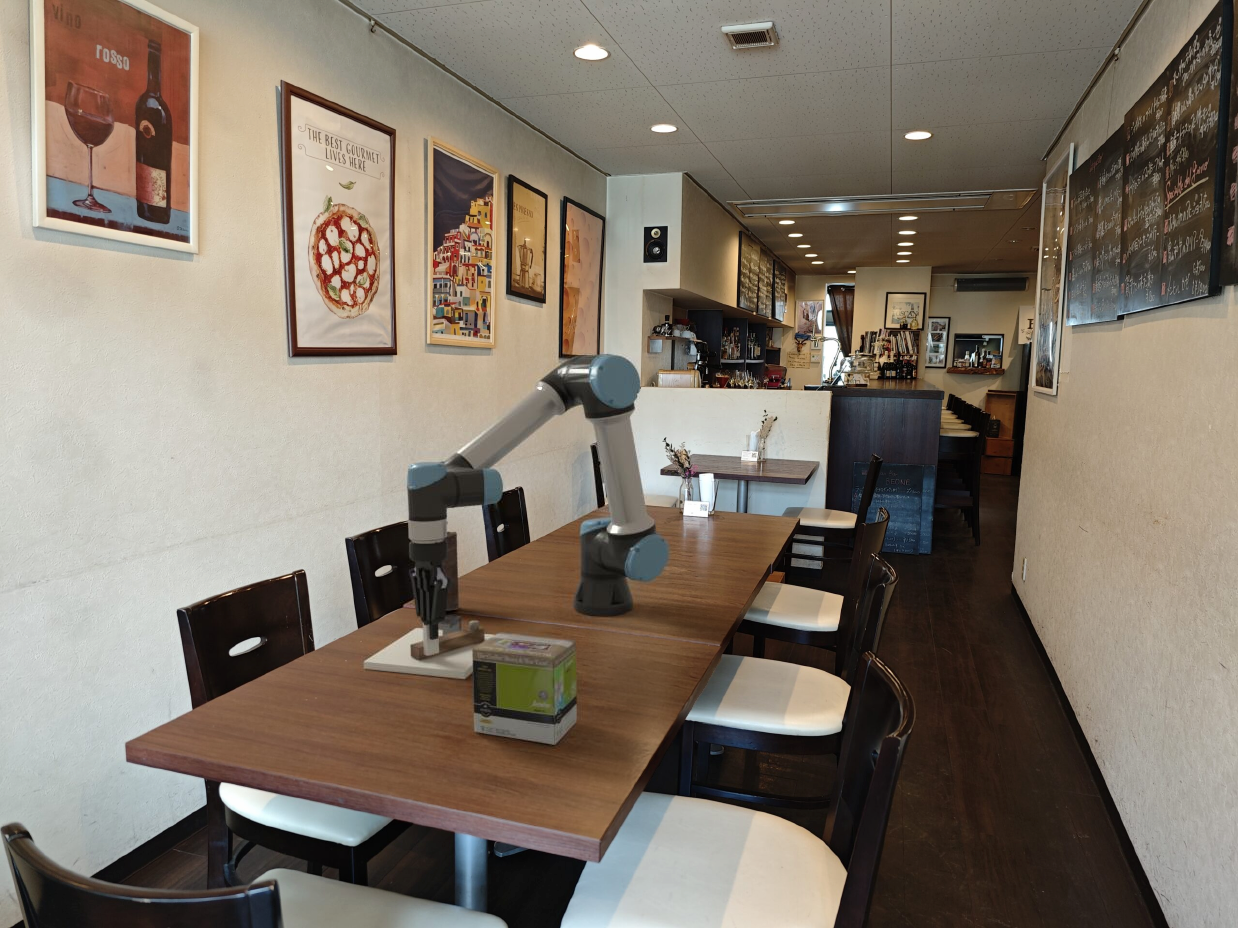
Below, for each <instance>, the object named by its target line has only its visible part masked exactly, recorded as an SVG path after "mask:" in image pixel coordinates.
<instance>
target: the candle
mask: <svg viewBox="0 0 1238 928" xmlns="http://www.w3.org/2000/svg"><path fill="white" fill-rule="evenodd" d="M444 539H446V540H447V541H448V556H447V558H446V559H444V560H443V561H442V566H443V575H444V577H445V578H450V580H451V582H450V585H449V588H448V595H447V604H446V612H449V611H456V610H459V603H460V602H459V570H458V533H457V532H456V531H447V537H446V538H444Z"/></svg>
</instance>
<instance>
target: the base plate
mask: <svg viewBox="0 0 1238 928" xmlns="http://www.w3.org/2000/svg"><path fill="white" fill-rule="evenodd" d="M438 632H439V636H442V635H443V630H442V629H438ZM484 634H485V640H484V641H486V640H488V639H489V638H491V637H492V636H494V635H495V634H490V633H489V634H488V633H484ZM421 641H423V627H415V628H413V630H411V631H409V632H408V633H406V634H405V635H403V636H402V637H399V638H398V639H397V640H395V641H394V642H392V643H390V644H389V645H387V646H386V647H383V649H381V650H380V651H378V652H376V653H375V654H373V655H372V656H370V657H369V658H367V659H365V660H364V661H363V669H364V670H372V671H381V672H391V673H393V672H394V673H401V674H410V675H421V676H429V677H442V678H450V679H460V680H466V679H467V678H468V677H469V676H470V675H471V674H473V656H472V649H473V648H475V647H477V646H478V645H480V644H481V643H483V642H484V641H483V642H481V643H476V644H470V645H467V646H463V647H460V648H457V649H453V650H450V651H447V652H444V653H440V654H437V655H434V656H431V657H427V658H424V659H421V660H418V659H416V658H413V657H411V647H410V645H411V644H414V643H418V642H421Z"/></svg>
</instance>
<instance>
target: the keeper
mask: <svg viewBox="0 0 1238 928" xmlns="http://www.w3.org/2000/svg"><path fill="white" fill-rule="evenodd" d="M438 629H441V630H443V635H446V634H449V633H453V632H456V631H460V630H462V616H459V615H450V614H449V615H448V614H445V621H442V622H439V624H438Z"/></svg>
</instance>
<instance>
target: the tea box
mask: <svg viewBox="0 0 1238 928" xmlns="http://www.w3.org/2000/svg"><path fill="white" fill-rule="evenodd" d="M493 635H494V636H492V637H491V638H489V639H488V640H486V641H484V642H483V643H481V644H480V645H478V646H477V647H475V648H473V649H472V656H473V672H472V690H473V691H472V693H473V695H472V697H473V698H472V699H473V729H474V732H475V733H480V734H487V735H491V736H498V737H505V738H510V739H518V740H524V741H530V742H537V743H541V744H548V745H552V746H553V745H557V743H558V742H559V741H561V739H563V737H564V736H565V735H566V733H568V732H569V731H570V729H572V727H574V725H575V724H576V723H577V719H578V718H577V716H578V715H577V714H578V713H577V712H578V711H577V710H578V709H577V708H578V707H577V706H578V705H577V704H578V703H577V702H578V700H577V699H578V694H577V693H578V691H577V689H578V687H577V684H578V683H577V682H578V681H577V679H578V678H577V641H576V640H573V639H565V638H556V637H547V636H538V635H527V634H521V633H520V634H519V633H510V632H509V633H508V632H502V631H501V632H500V631H499V632H497V633H496V634H493Z"/></svg>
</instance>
